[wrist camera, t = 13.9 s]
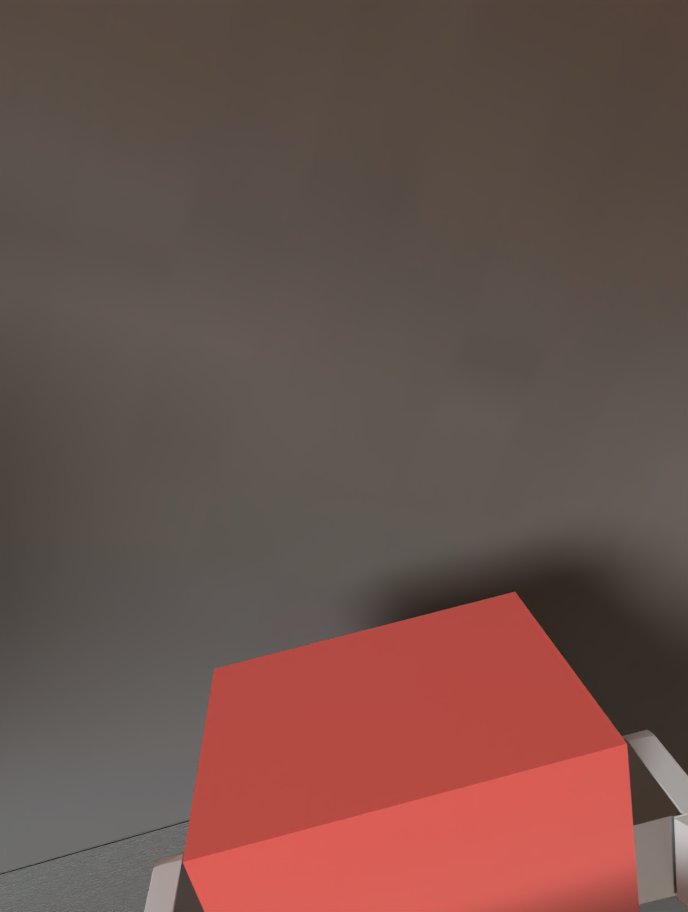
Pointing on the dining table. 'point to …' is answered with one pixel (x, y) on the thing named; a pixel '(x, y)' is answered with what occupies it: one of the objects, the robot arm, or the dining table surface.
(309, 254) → the dining table surface
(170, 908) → the robot arm
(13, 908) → the breaker panel
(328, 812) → the cap
